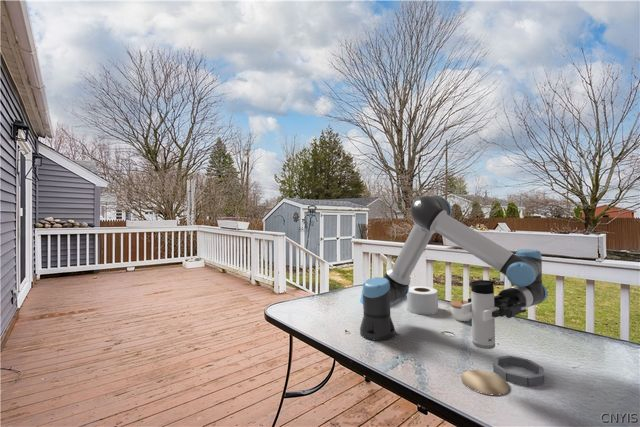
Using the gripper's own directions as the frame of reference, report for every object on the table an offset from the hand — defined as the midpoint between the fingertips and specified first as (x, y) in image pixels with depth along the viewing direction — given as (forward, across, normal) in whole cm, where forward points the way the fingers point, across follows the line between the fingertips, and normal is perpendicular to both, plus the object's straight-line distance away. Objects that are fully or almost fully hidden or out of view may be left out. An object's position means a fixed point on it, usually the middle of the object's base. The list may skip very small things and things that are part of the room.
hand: (473, 312), depth 94 cm
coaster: (-5, 0, -23) cm, 23 cm away
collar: (-19, -3, -23) cm, 30 cm away
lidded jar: (-47, +37, -23) cm, 64 cm away
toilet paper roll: (-43, +58, -23) cm, 76 cm away
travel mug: (-5, 0, -11) cm, 12 cm away
